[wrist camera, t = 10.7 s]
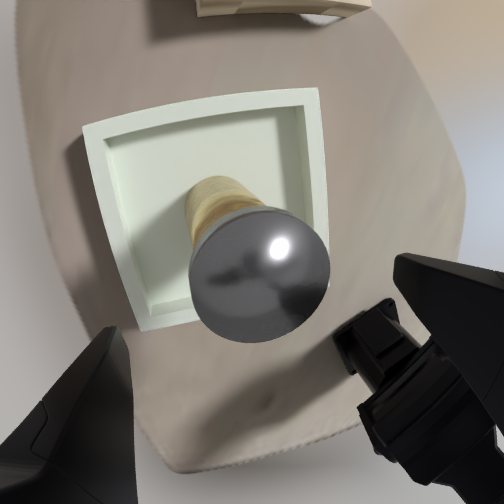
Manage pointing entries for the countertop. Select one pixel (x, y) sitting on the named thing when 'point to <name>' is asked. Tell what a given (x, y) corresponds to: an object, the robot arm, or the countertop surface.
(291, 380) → the countertop surface
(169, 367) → the countertop surface
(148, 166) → the tray
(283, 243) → the spice jar
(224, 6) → the wooden square frame
